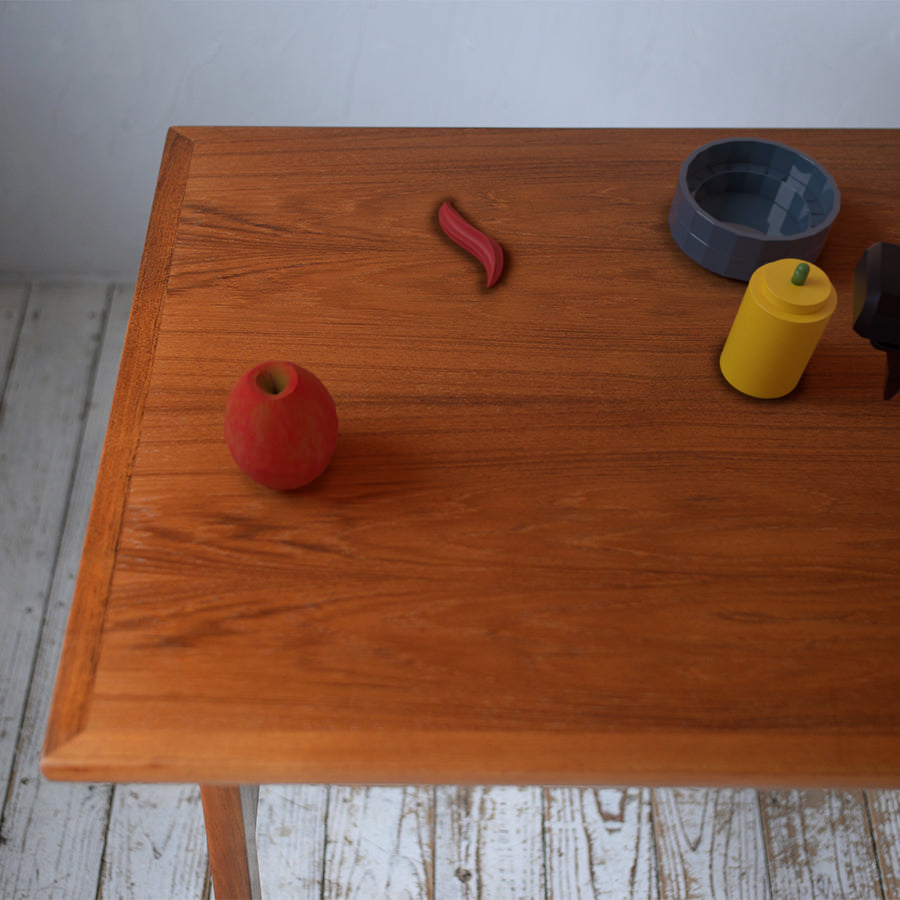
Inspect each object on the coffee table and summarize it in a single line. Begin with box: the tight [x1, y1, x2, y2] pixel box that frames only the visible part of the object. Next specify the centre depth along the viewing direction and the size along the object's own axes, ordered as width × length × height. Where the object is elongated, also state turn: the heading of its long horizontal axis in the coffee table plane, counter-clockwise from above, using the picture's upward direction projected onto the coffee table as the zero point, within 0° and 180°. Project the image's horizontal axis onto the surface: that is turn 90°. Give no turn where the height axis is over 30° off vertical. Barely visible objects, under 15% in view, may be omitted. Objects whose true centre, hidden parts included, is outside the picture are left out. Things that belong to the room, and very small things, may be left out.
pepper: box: [719, 259, 838, 400], centre depth 76 cm, size 7×7×12 cm
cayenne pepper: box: [438, 200, 504, 289], centre depth 88 cm, size 12×5×2 cm, turn 13°
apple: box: [222, 359, 340, 491], centre depth 69 cm, size 8×8×11 cm
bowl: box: [667, 136, 842, 283], centre depth 88 cm, size 14×14×6 cm
